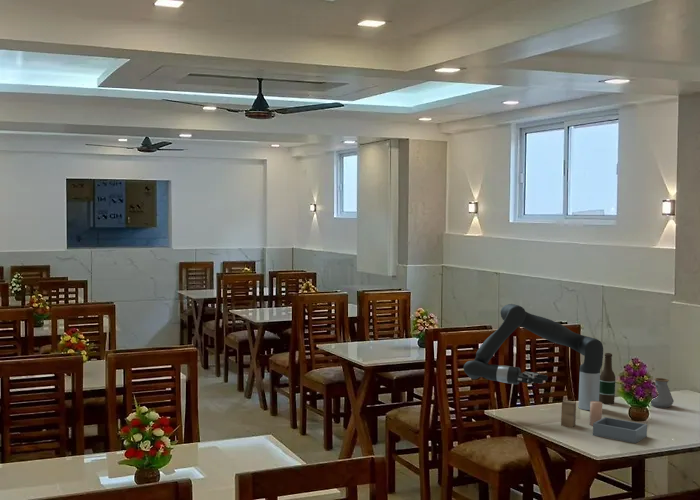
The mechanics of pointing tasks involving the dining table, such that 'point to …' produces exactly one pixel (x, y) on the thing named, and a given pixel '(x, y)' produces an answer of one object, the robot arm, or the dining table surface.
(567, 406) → the walnut block
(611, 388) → the beer bottle
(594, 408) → the terracotta cylinder
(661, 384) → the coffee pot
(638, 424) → the blue-gray tote
